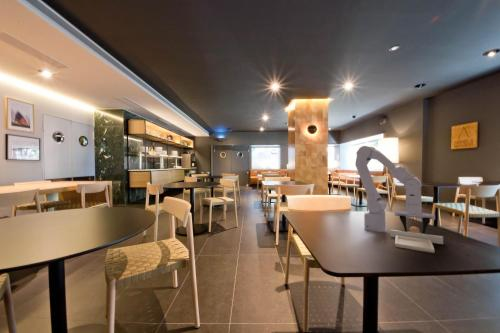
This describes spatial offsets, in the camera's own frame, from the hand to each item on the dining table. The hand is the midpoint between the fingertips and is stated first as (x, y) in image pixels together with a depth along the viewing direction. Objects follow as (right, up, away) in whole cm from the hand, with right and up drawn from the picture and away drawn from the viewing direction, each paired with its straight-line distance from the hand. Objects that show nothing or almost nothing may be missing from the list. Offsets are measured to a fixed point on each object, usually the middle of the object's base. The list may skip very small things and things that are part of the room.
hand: (414, 233), depth 96 cm
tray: (-9, -2, -11) cm, 14 cm away
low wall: (-4, -1, -5) cm, 6 cm away
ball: (0, +1, 0) cm, 1 cm away
